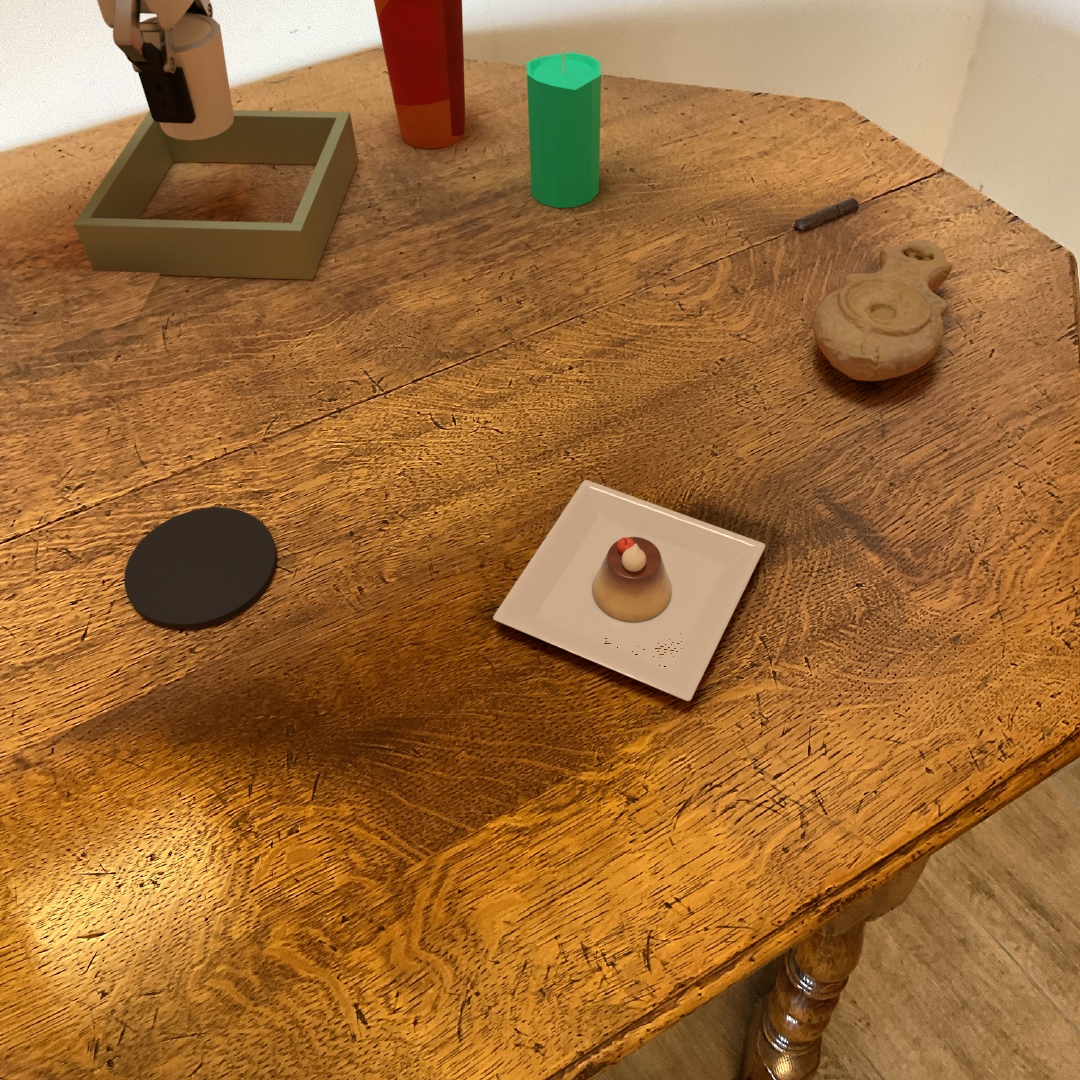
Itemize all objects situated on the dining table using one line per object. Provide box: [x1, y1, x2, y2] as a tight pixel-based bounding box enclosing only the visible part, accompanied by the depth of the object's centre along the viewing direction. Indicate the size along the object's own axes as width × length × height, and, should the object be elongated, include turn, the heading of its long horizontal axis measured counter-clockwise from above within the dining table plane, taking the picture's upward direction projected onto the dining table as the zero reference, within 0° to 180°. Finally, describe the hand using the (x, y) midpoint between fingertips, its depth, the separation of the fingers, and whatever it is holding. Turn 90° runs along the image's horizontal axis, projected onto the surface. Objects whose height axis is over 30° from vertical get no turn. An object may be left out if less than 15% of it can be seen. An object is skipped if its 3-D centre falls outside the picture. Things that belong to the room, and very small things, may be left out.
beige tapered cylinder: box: [142, 13, 234, 140], centre depth 76 cm, size 7×7×7 cm
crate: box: [73, 109, 359, 281], centre depth 84 cm, size 18×18×4 cm
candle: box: [526, 47, 602, 209], centre depth 82 cm, size 6×6×12 cm
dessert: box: [492, 479, 766, 702], centre depth 57 cm, size 12×12×5 cm
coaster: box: [123, 506, 278, 631], centre depth 60 cm, size 9×9×1 cm
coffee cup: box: [373, 0, 466, 150], centre depth 87 cm, size 8×8×15 cm
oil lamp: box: [812, 239, 954, 382], centre depth 71 cm, size 11×14×5 cm
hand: (190, 94), depth 77 cm, fingers closed on beige tapered cylinder, 6 cm apart
